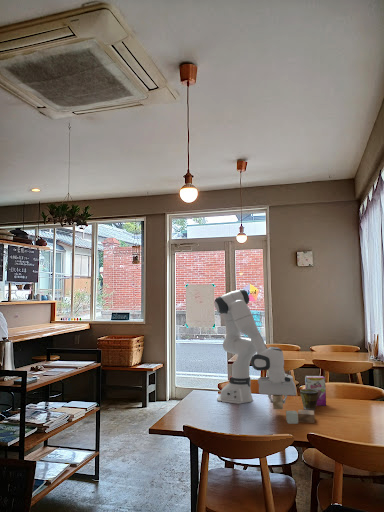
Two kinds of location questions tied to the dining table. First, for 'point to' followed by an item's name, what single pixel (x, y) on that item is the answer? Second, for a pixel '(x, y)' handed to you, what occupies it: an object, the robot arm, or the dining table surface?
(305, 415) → the walnut pedestal
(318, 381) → the candy bar box
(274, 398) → the oak block
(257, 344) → the robot arm
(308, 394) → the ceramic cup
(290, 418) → the grey green block
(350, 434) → the dining table surface
